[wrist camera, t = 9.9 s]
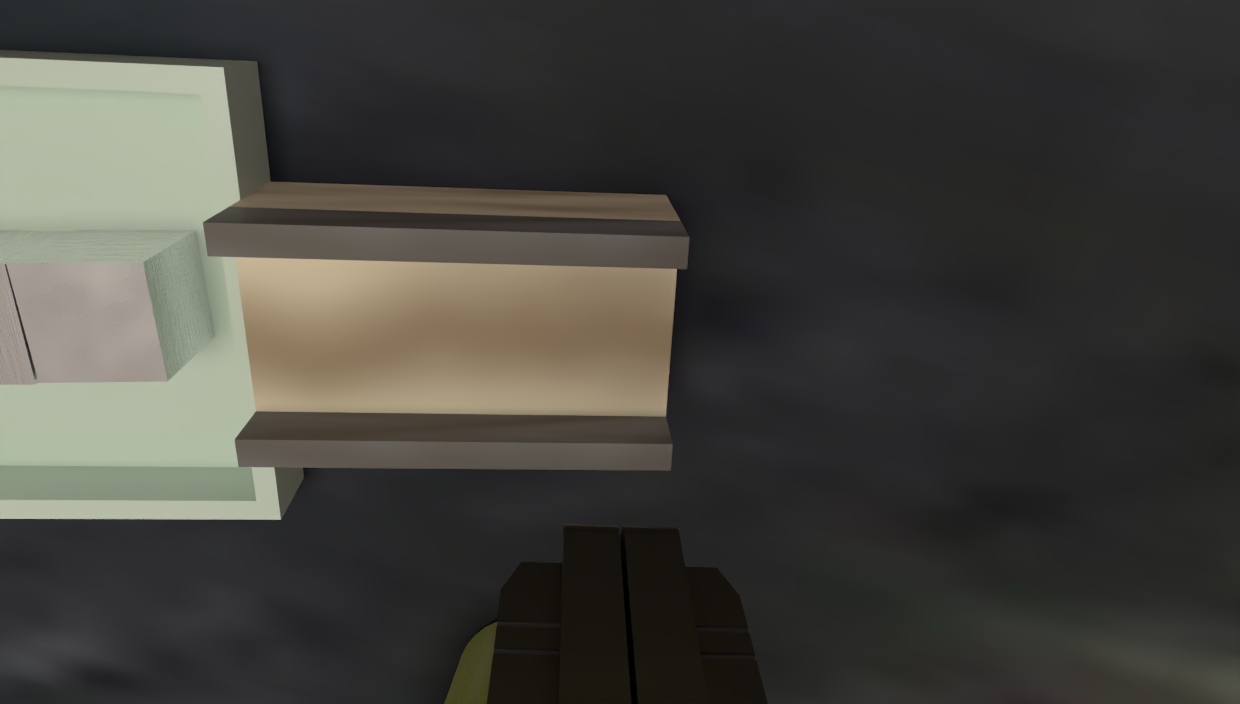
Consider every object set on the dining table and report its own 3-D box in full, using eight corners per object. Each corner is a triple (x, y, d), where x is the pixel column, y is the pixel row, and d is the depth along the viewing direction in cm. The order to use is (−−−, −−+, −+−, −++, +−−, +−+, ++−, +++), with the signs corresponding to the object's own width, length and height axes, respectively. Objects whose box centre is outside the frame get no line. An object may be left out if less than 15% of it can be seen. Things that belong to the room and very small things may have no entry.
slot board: (270, 181, 29) (202, 222, 24) (666, 195, 30) (689, 236, 25) (293, 388, 32) (238, 467, 27) (652, 393, 33) (670, 470, 28)
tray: (-194, 41, 27) (-282, 44, 24) (257, 61, 28) (223, 67, 25) (-62, 475, 33) (-120, 518, 30) (304, 477, 34) (281, 519, 31)
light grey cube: (76, 229, 29) (5, 262, 25) (195, 229, 29) (142, 262, 25) (102, 337, 30) (38, 383, 27) (215, 336, 31) (167, 381, 27)
